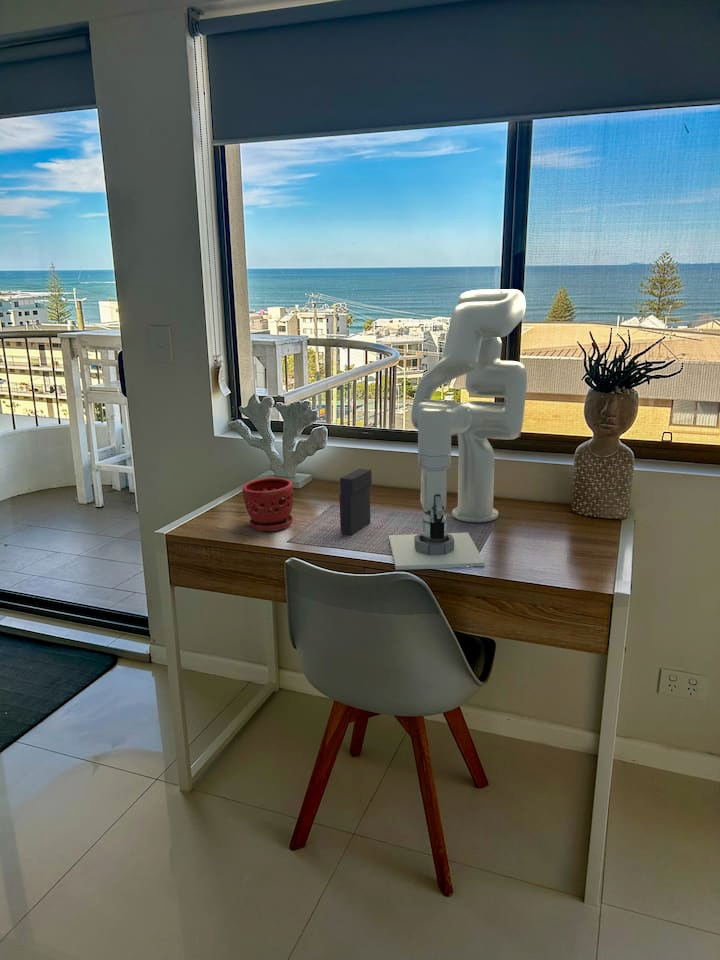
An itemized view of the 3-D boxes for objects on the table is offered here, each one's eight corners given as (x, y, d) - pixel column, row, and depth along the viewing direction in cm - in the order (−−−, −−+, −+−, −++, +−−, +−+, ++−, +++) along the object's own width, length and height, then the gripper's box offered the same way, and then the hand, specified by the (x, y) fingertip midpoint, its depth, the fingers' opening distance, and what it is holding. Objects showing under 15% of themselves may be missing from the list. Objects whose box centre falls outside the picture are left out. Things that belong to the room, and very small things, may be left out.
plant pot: (264, 516, 192) (262, 475, 189) (304, 522, 186) (302, 480, 183) (235, 530, 181) (232, 487, 178) (276, 537, 175) (273, 492, 172)
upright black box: (358, 521, 186) (357, 467, 182) (372, 523, 184) (371, 469, 180) (338, 533, 177) (337, 477, 173) (353, 536, 175) (351, 479, 171)
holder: (388, 539, 172) (388, 525, 171) (467, 536, 172) (468, 523, 172) (395, 569, 153) (395, 555, 152) (484, 566, 153) (485, 552, 152)
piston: (420, 543, 165) (421, 512, 163) (443, 543, 165) (444, 511, 163) (424, 552, 160) (424, 519, 158) (447, 551, 160) (448, 519, 158)
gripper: (414, 452, 165) (414, 520, 169) (422, 470, 148) (422, 545, 153) (444, 451, 165) (444, 519, 170) (457, 469, 148) (456, 544, 153)
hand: (434, 531), depth 161 cm, fingers open, 9 cm apart
